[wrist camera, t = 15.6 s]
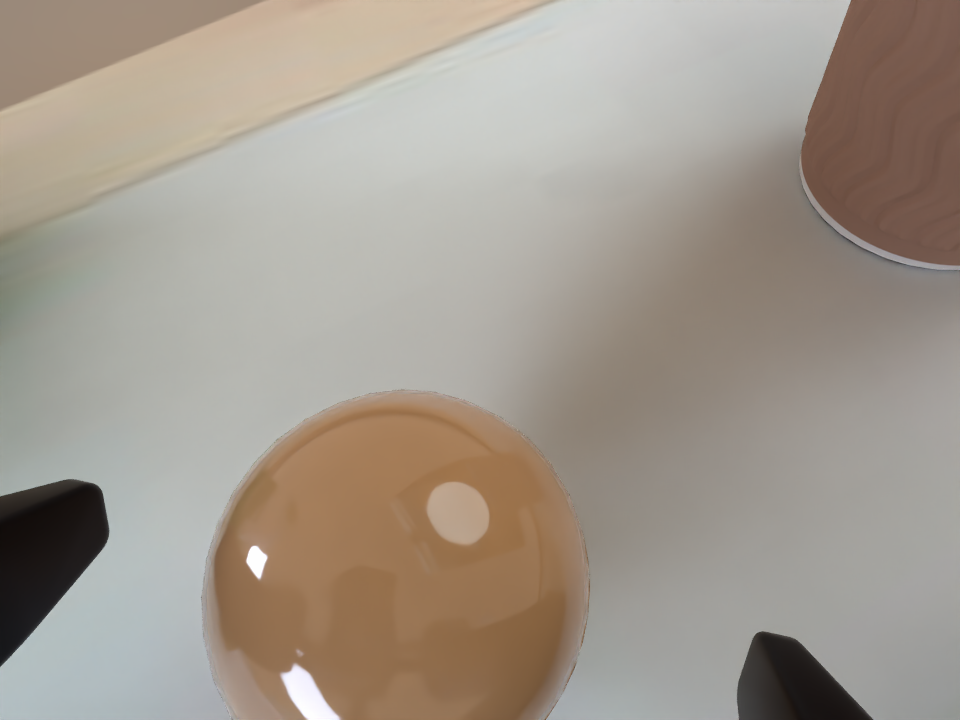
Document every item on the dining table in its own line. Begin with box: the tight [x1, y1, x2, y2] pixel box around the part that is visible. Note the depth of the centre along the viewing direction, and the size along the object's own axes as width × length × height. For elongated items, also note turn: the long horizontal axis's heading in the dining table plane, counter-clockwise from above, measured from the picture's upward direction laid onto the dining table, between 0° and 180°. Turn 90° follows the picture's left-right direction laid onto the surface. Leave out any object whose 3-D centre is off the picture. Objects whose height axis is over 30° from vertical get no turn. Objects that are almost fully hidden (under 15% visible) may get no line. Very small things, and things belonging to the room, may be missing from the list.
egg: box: [201, 389, 590, 720], centre depth 9 cm, size 5×5×9 cm
